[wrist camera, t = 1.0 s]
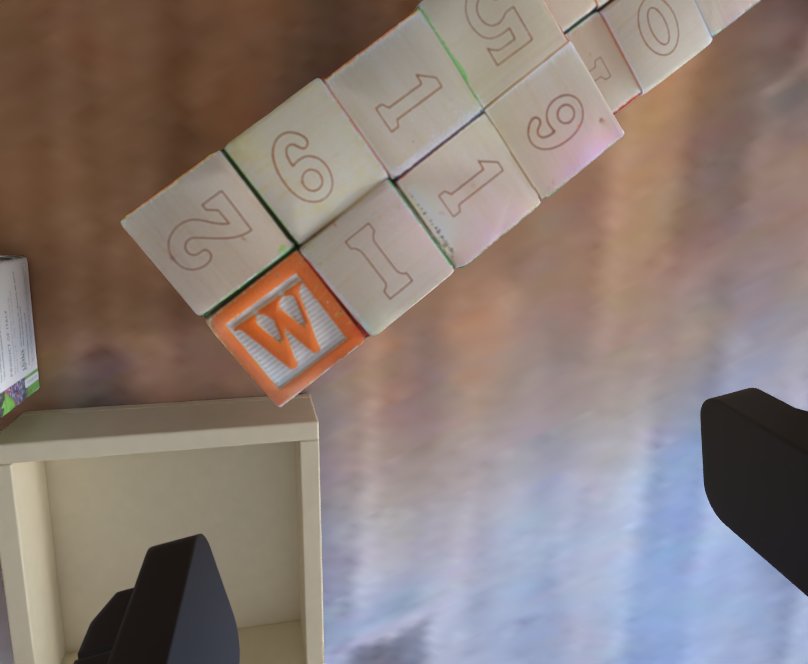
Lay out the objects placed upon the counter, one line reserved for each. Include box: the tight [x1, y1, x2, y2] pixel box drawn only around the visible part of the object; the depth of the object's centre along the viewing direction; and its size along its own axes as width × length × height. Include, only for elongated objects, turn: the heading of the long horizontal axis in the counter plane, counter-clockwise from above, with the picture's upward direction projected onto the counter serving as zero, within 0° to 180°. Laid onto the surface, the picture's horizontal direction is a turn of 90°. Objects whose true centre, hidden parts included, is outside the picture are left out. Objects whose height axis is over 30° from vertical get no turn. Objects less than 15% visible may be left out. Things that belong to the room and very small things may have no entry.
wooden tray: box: [0, 394, 324, 664], centre depth 27 cm, size 12×12×4 cm
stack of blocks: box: [121, 0, 761, 407], centre depth 22 cm, size 21×6×12 cm, turn 127°
